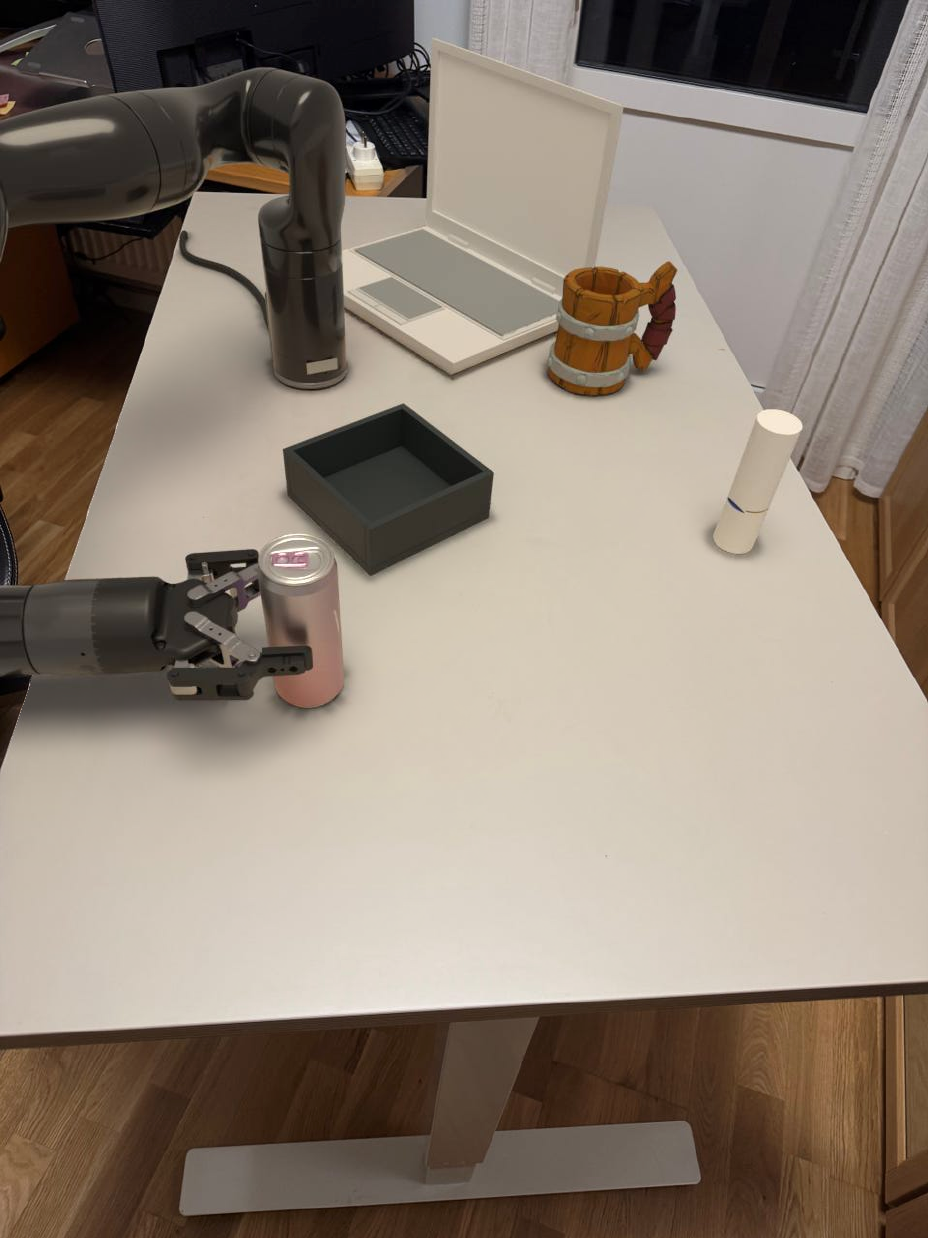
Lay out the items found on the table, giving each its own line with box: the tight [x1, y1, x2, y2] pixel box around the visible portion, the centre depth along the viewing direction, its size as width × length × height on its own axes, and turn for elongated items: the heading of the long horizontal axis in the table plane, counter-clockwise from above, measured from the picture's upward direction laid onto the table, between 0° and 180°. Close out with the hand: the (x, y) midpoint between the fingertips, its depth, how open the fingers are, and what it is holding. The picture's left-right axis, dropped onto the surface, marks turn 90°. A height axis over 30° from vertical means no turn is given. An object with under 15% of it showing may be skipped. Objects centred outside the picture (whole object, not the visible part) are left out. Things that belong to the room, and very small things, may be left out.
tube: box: [712, 408, 803, 555], centre depth 85 cm, size 4×4×15 cm
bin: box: [282, 403, 495, 576], centre depth 89 cm, size 16×16×6 cm
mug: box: [546, 261, 678, 397], centre depth 108 cm, size 11×16×15 cm, turn 102°
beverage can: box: [257, 532, 345, 709], centre depth 68 cm, size 6×6×15 cm
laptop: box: [342, 37, 625, 376], centre depth 114 cm, size 35×26×28 cm
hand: (313, 617), depth 68 cm, fingers open, 8 cm apart
